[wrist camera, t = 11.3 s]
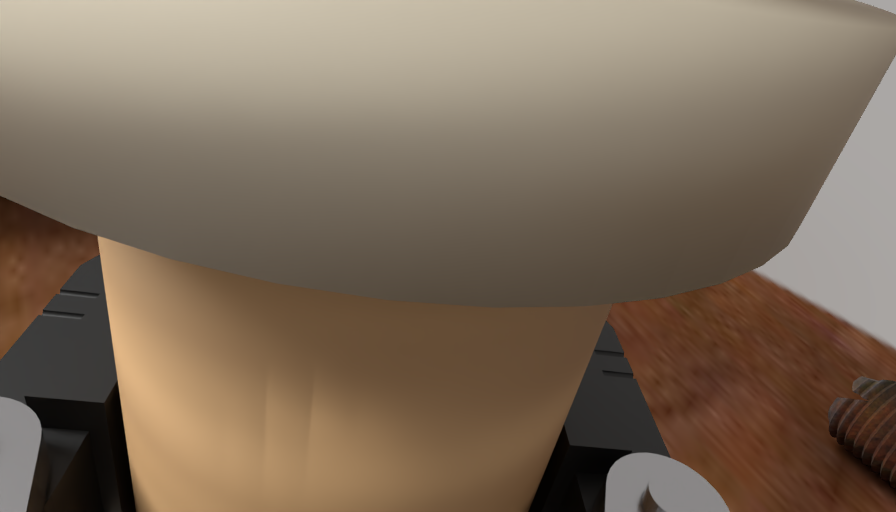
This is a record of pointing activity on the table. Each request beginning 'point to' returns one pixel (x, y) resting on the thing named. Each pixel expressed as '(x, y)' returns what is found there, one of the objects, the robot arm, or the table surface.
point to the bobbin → (407, 214)
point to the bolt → (868, 425)
